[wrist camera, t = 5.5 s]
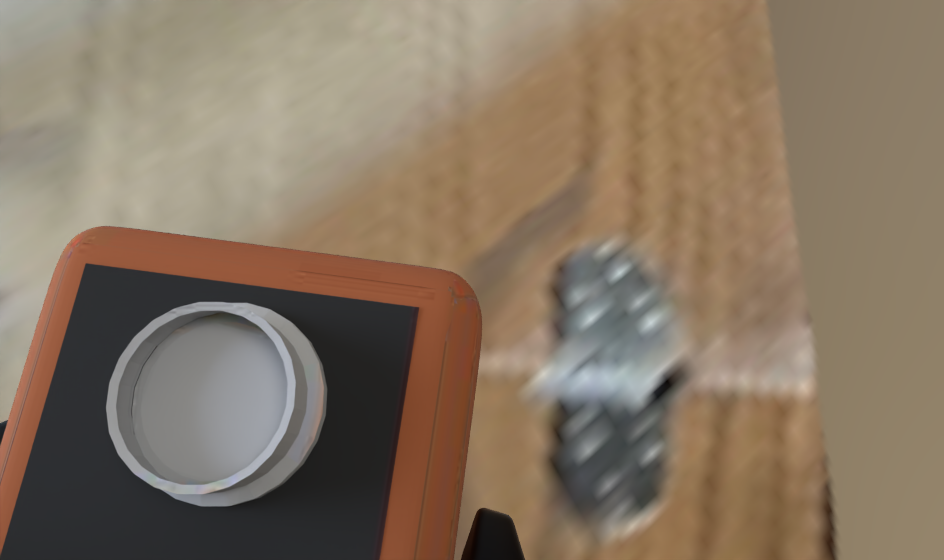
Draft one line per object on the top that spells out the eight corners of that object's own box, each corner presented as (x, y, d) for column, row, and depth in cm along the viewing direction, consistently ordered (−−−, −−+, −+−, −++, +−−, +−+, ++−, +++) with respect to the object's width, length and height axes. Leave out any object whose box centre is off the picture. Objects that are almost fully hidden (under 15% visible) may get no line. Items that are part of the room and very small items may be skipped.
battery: (216, 686, 14) (-372, 1212, 4) (285, 352, 16) (-12, 168, 6) (432, 717, 14) (353, 1334, 4) (476, 378, 15) (495, 233, 6)
